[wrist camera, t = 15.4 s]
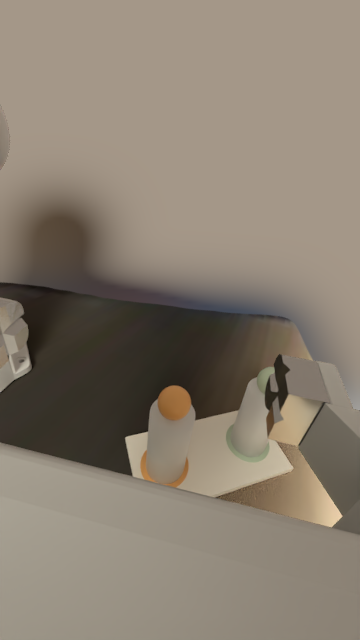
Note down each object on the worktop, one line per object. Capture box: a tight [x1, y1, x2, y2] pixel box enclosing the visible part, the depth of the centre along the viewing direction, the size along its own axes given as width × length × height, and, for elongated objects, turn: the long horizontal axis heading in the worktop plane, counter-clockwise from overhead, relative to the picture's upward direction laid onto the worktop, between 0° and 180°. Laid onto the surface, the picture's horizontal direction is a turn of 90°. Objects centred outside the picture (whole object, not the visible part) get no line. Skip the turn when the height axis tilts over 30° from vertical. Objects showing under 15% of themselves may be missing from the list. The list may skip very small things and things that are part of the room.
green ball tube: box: [230, 367, 275, 457], centre depth 35 cm, size 5×5×13 cm
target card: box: [125, 410, 293, 497], centre depth 37 cm, size 10×20×1 cm, turn 109°
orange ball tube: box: [146, 386, 195, 484], centre depth 31 cm, size 5×5×13 cm
